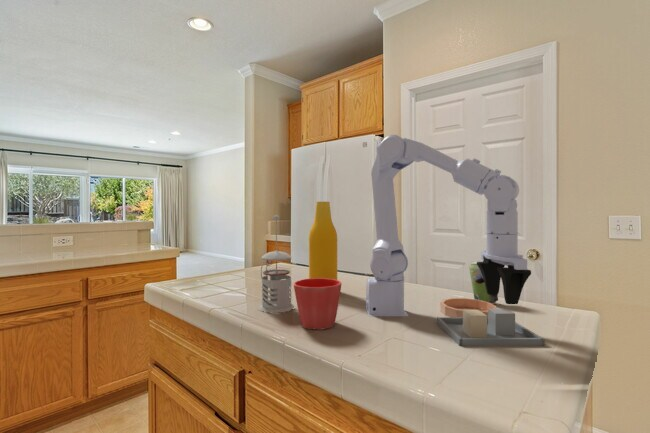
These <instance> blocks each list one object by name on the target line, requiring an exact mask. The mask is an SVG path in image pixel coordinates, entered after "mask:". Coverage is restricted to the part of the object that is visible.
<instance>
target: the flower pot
mask: <svg viewBox="0 0 650 433" xmlns="http://www.w3.org/2000/svg"><path fill="white" fill-rule="evenodd" d="M293 288H294V294H295V301H296V305H297V310H298V314H299V320H300V324H301V327H303V328H305V329H308V330H325V329H326V330H327V329H330V328H333V327H334V326H335V323H336V319H337V314H338V309H339V303H340V297H341V291H342V290H341V289H342V282H341V281H340V280H338V279H337V280H334V279H326V278H312V279H309V278H305V279H299V280H297V281H295V282H294V283H293Z"/></svg>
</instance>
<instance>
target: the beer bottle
mask: <svg viewBox="0 0 650 433" xmlns="http://www.w3.org/2000/svg"><path fill="white" fill-rule="evenodd" d="M330 205H331V204H330V201H316V204H315V212H314V220H313V223H312V226H311V228H310V231H309V233H308V234H309V235H308V279H312V278H326V279H334V280H338V233H337V230H336V227H335V225H334V223H333V220H332V214H331V213H332V212H331V211H332V210H331V206H330Z"/></svg>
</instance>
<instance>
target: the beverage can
mask: <svg viewBox="0 0 650 433" xmlns="http://www.w3.org/2000/svg"><path fill="white" fill-rule="evenodd" d="M477 262H483V260H476V261H471V262H470V265H469V268H468V269H469V275H470V281H471V286H472V292H473V299H477V300H481V301H485V302H489V303H491V304H493V305H495V304H496V303H497V301H499V296H498V295H499V294H498V295H489V294H487V291H486V287H485V283H484V279H483V276H482V273H481V271H480V269H479V267H478V265H477Z"/></svg>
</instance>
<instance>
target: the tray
mask: <svg viewBox="0 0 650 433" xmlns="http://www.w3.org/2000/svg"><path fill="white" fill-rule="evenodd" d="M436 324H437V325H438V326H439V327H440V328H441V329H442V330H443V331H444V332H445V333H446V334H447V335H448V336H449V337H450V338H451V339H452V340H453V341H454V342H455V343H456V344H457V345H458V346H459V347H484V346H485V347H486V346H487V347H499V346H500V347H507V346H508V347H513V346H514V347H516V346H517V347H522V346H523V347H525V346H526V347H530V346H531V347H534V346H535V347H536V346H537V347H538V346H539V347H541V346H542V347H544V346H545V345H546V344H545V343H546V342H545V338H543V337H542V336H540V335H538V334H537V333H535V332H534V331H531V330H530V329H528V328H527V327H524V326H523V325H521V324H519V323H518V322H516V321H515V335H495V334H493V333H492V332H491V331H489V330H488V317H487V338H471V337H470V336H469V335H467V334H466V333H465V332H464V331H463V317H448V316H445V317H441V316H440V317H436Z"/></svg>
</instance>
